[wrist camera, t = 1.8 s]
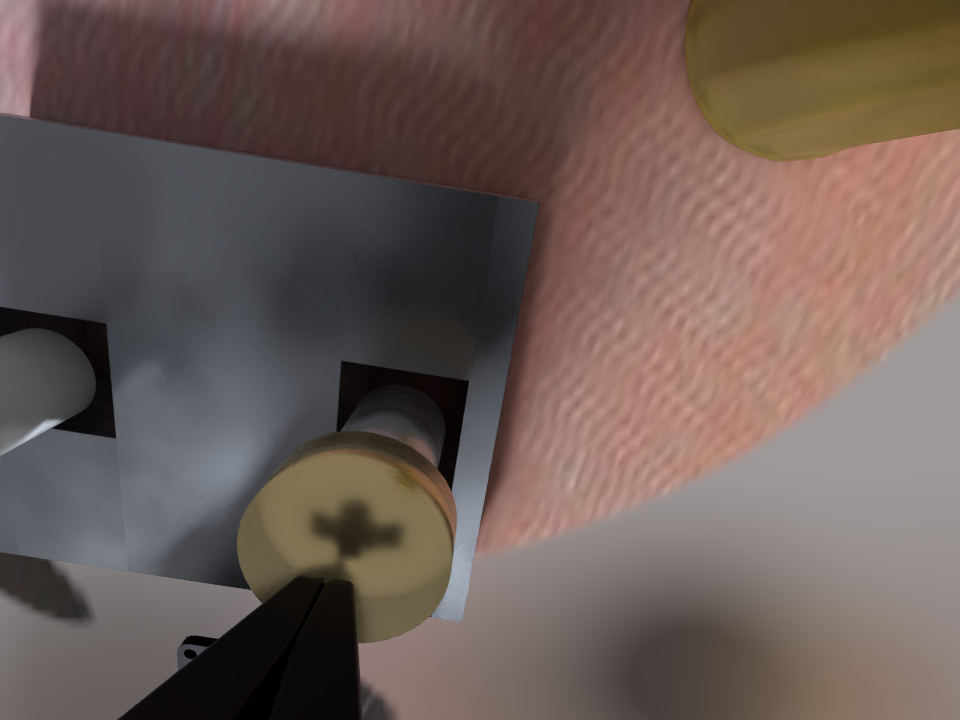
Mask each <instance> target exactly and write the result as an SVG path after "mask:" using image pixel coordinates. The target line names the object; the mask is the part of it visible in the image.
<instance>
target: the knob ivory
mask: <svg viewBox="0 0 960 720" xmlns="http://www.w3.org/2000/svg"><path fill="white" fill-rule="evenodd" d="M95 391H96V379H95V374H94V371H93V368H92V366H91V364H90V362H89V360H88V358H87V357H86V356H85V354H84V353H83V352H82V351H81V349H80V348H79V347H78V346H76V345H75V344H74V343H73V342H72V341H70V340H69V339H68V338H66V337H64V336H63V335H61V334H58V333H56V332H53V331H51V330H47V329H41V328H29V329H24V330H21V331H18V332H14V333H11V334H8V335H5V336H1V337H0V456H1V455H3V454H5V453H6V452H8V451H10V450H12V449H14V448H16V447H17V446H19V445H21V444H23V443H25V442H27V441H28V440H30V439H32V438H34V437H36V436H38V435H39V434H41V433H43V432H45V431H47V430H49V429H50V428H52V427H54V426H56V425H58V424H60V423H61V422H63V421H65V420H67V419H69V418H71V417H72V416H74V415H76V414H78V413H80V412H81V411H83V410H84V409H86V408H87V407H88V406H89V404H90V403H91V402H92V400H93V398H94V395H95Z"/></svg>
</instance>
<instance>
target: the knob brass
mask: <svg viewBox="0 0 960 720" xmlns="http://www.w3.org/2000/svg"><path fill="white" fill-rule="evenodd" d="M444 438H445V422H444V418H443V416H442V413H441V411H440V409H439V408H438V406H437V405H436V404H435V402H434V401H433V400H432V399H431V398H429V397H428V396H427V395H426V394H424V393H423V392H421V391H419V390H417V389H414V388H411V387H408V386H403V385H389V386H384V387H380V388H377V389H375V390H373V391H371V392H370V393H368V394H367V395H366V396H365V397H364V398H363V399H362V400H361V401H360V402H359V404H358V405H357V407H356V408H355V410H354V412H353V413H352V415H351V416H350V418H349V419H348V421H347V422H346V424H345V426H344V427H343V429H342V430H341V432H334V433H329V434H326V435H322V436H319V437H316V438H314V439H312V440H309V441H307V442H306V443H304V444H302V445H301V446H299V447H297V448H296V449H295V450H294V451H293V452H291V453H290V454H289V455H288V456H287V457H286V458H285V459H284V460H283V462H282V463H281V464H280V465H279V467H278V468H277V469H276V470H275V472H274V473H273V474H272V475H271V477H270V478H269V479H268V481H267V482H266V483H265V484H264V486H263V487H262V488H261V490H260V491H259V492H258V493H257V495H256V496H255V497H254V498H253V500H252V501H251V503H250V504H249V506H248V507H247V509H246V510H245V512H244V515H243V517H242V519H241V522H240V526H239V530H238V536H237V552H238V559H239V563H240V567H241V570H242V572H243V575H244V577H245V579H246V581H247V583H248V585H249V587H250V588H251V590H252V591H253V593H254V594H255V595H256V597H257V598H258V599H259V600H260V601H261V602H262V603H264V602H265V601H266V600H268V599H269V598H270V597H271V596H273V595H274V594H275V593H276V592H278V591H279V590H280V589H281V588H283V587H284V586H285V585H286V584H288V583H289V582H290V581H291V580H293V579H294V578H295V577H297V576H299V575H302V574H304V575H311V576H317V577H323V578H324V579H325V580H326V581H327V580H329V579H337V580H344V581H350V582H352V583H353V584H354V590H355V606H356V622H357V637H358V643H367V642H377V641H382V640H386V639H390V638H393V637H396V636H399V635H401V634H403V633H406V632H408V631H410V630H412V629H413V628H415V627H416V626H418V625H419V624H421V623H422V622H423V621H424V620H426V619H427V618H428V617H429V616H430V615H431V614H432V613H433V612H434V611H435V609H436V608H437V607H438V605H439V604H440V602H441V601H442V599H443V597H444V595H445V593H446V590H447V588H448V585H449V581H450V577H451V569H452V561H453V553H454V545H455V537H456V529H457V510H456V505H455V501H454V498H453V495H452V492H451V490H450V488H449V486H448V484H447V482H446V480H445V479H444V477H443V476H442V474H441V473H440V472H439V470H438V465H439V460H440V456H441V451H442V447H443V442H444Z"/></svg>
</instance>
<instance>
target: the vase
mask: <svg viewBox="0 0 960 720" xmlns="http://www.w3.org/2000/svg"><path fill="white" fill-rule="evenodd" d="M684 39H685V62H686V71H687V76H688V81H689V85H690V89H691V91H692V94H693V96H694V99H695V101H696V103H697V105H698V107H699V109H700V110H701V112H702V114H703V116H704V117H705V119H706V120H707V121H708V122H709V124H710V125H711V126H712V127H713V129H714V130H715V131H716V132H717V133H718V134H719V135H720V136H721V137H723V138H724V139H725V140H726V141H728V142H729V143H731V144H733V145H734V146H736V147H738V148H740V149H743V150H745V151H747V152H749V153H752V154H754V155H757V156H760V157H763V158H766V159H769V160H772V161H797V160H806V159H813V158H819V157H824V156H828V155H830V154H833V153H836V152H839V151H842V150H845V149H849V148H853V147H857V146H861V145H866V144H871V143H877V142H884V141H890V140H896V139H901V138H907V137H913V136H919V135H925V134H930V133H936V132H942V131H949V130H955V129H960V0H692V2H691V5H690V9H689V13H688V17H687V21H686V30H685V38H684Z"/></svg>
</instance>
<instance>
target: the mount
mask: <svg viewBox="0 0 960 720" xmlns="http://www.w3.org/2000/svg"><path fill="white" fill-rule="evenodd" d="M538 207H539V203H538V202H536V201H534V200H532V199H529V198H523V197H517V196H511V195H504V194H498V193H492V192H486V191H480V190H474V189H468V188H462V187H456V186H449V185H443V184H437V183H431V182H425V181H419V180H413V179H407V178H401V177H394V176H388V175H382V174H376V173H370V172H364V171H358V170H352V169H346V168H339V167H333V166H327V165H321V164H315V163H309V162H303V161H297V160H291V159H284V158H278V157H272V156H266V155H260V154H254V153H248V152H242V151H236V150H229V149H223V148H217V147H211V146H205V145H199V144H193V143H187V142H181V141H174V140H168V139H162V138H156V137H150V136H144V135H138V134H132V133H126V132H119V131H113V130H107V129H101V128H95V127H89V126H83V125H77V124H71V123H64V122H58V121H52V120H46V119H40V118H34V117H28V116H21V115H13V114H6V113H0V337H1V336H5V335H8V334H11V333H14V332H18V331H21V330H24V329H29V328H41V329H47V330H51V331H53V332H56V333H58V334H61V335H63V336H64V337H66V338H68V339H69V340H70V341H72V342H73V343H74V344H75V345H76V346H78V347H79V348H80V349H81V351H82V352H83V353H84V354H85V349H84V339H83V330H82V320H88V321H94V322H100V323H106V327H107V338H108V349H109V361H110V372H111V381H110V380H104V379H97V378H95V379H96V391H95V395H94V398H93V400H92V402H91V403H90V404H89V406H88V407H87V408H86V409H84V410H83V411H81V412H80V413H78V414H76V415H74V416H72V417H71V418H69V419H67V420H65V421H63V422H61V423H60V424H58V425H56V426H54V427H52V428H50V429H49V430H47V431H45V432H43V433H41V434H39V435H38V436H36V437H34V438H32V439H30V440H28V441H27V442H25V443H23V444H21V445H19V446H17V447H16V448H14V449H12V450H10V451H8V452H6V453H5V454H3V455H1V456H0V552H4V553H10V554H17V555H24V556H30V557H37V558H44V559H50V560H57V561H63V562H70V563H77V564H84V565H90V566H96V567H103V568H110V569H117V570H123V571H129V572H137V573H143V574H149V575H156V576H163V577H169V578H176V579H183V580H189V581H196V582H202V583H209V584H215V585H222V586H229V587H235V588H242V589H249V590H251V588H250V587H249V585H248V583H247V581H246V579H245V577H244V575H243V572H242V570H241V567H240V563H239V559H238V552H237V536H238V530H239V526H240V522H241V519H242V517H243V515H244V512H245V510H246V509H247V507H248V506H249V504H250V503H251V501H252V500H253V498H254V497H255V496H256V495H257V493H258V492H259V491H260V490H261V488H262V487H263V486H264V484H265V483H266V482H267V481H268V479H269V478H270V477H271V475H272V474H273V473H274V472H275V470H276V469H277V468H278V467H279V465H280V464H281V463H282V462H283V460H284V459H285V458H286V457H287V456H288V455H289V454H290V453H291V452H293V451H294V450H295V449H296V448H297V447H299V446H301V445H302V444H304V443H306V442H307V441H309V440H312V439H314V438H316V437H319V436H322V435H326V434H329V433H334V432H341V430H342V429H343V427H344V426H345V424H346V422H347V421H348V419H349V418H350V416H351V415H352V413H353V412H354V410H355V408H356V407H357V405H358V404H359V402H360V401H361V400H362V399H363V398H364V397H365V396H366V387H367V375H368V365H372V366H379V367H385V368H391V369H398V370H404V371H410V372H417V373H423V374H429V375H436V376H442V377H448V378H455V379H461V380H467V381H469V386H468V392H467V399H466V405H465V411H464V418H463V424H462V430H461V435H455V434H449V433H445V438H444V442H443V447H442V451H441V456H440V460H439V465H438V470H439V472H440V473H441V474H442V476H443V477H444V479H445V480H446V482H447V484H448V486H449V488H450V490H451V492H452V495H453V498H454V501H455V505H456V510H457V529H456V537H455V545H454V553H453V561H452V569H451V577H450V581H449V585H448V588H447V590H446V593H445V595H444V597H443V599H442V601H441V602H440V604H439V605H438V607H437V608H436V609H435V611H434V612H433V613H432V614H431V615H430V616H429V617H434V618H441V619H447V620H454V621H460V622H462V618H463V613H464V607H465V602H466V597H467V591H468V586H469V580H470V575H471V569H472V564H473V559H474V553H475V548H476V543H477V537H478V532H479V526H480V521H481V515H482V510H483V505H484V499H485V494H486V488H487V483H488V478H489V472H490V467H491V461H492V456H493V450H494V445H495V440H496V434H497V429H498V423H499V418H500V412H501V407H502V402H503V396H504V391H505V385H506V380H507V375H508V369H509V364H510V358H511V353H512V347H513V342H514V337H515V331H516V326H517V320H518V315H519V309H520V304H521V299H522V293H523V288H524V282H525V277H526V272H527V266H528V261H529V255H530V250H531V244H532V239H533V234H534V228H535V223H536V217H537V212H538Z"/></svg>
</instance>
